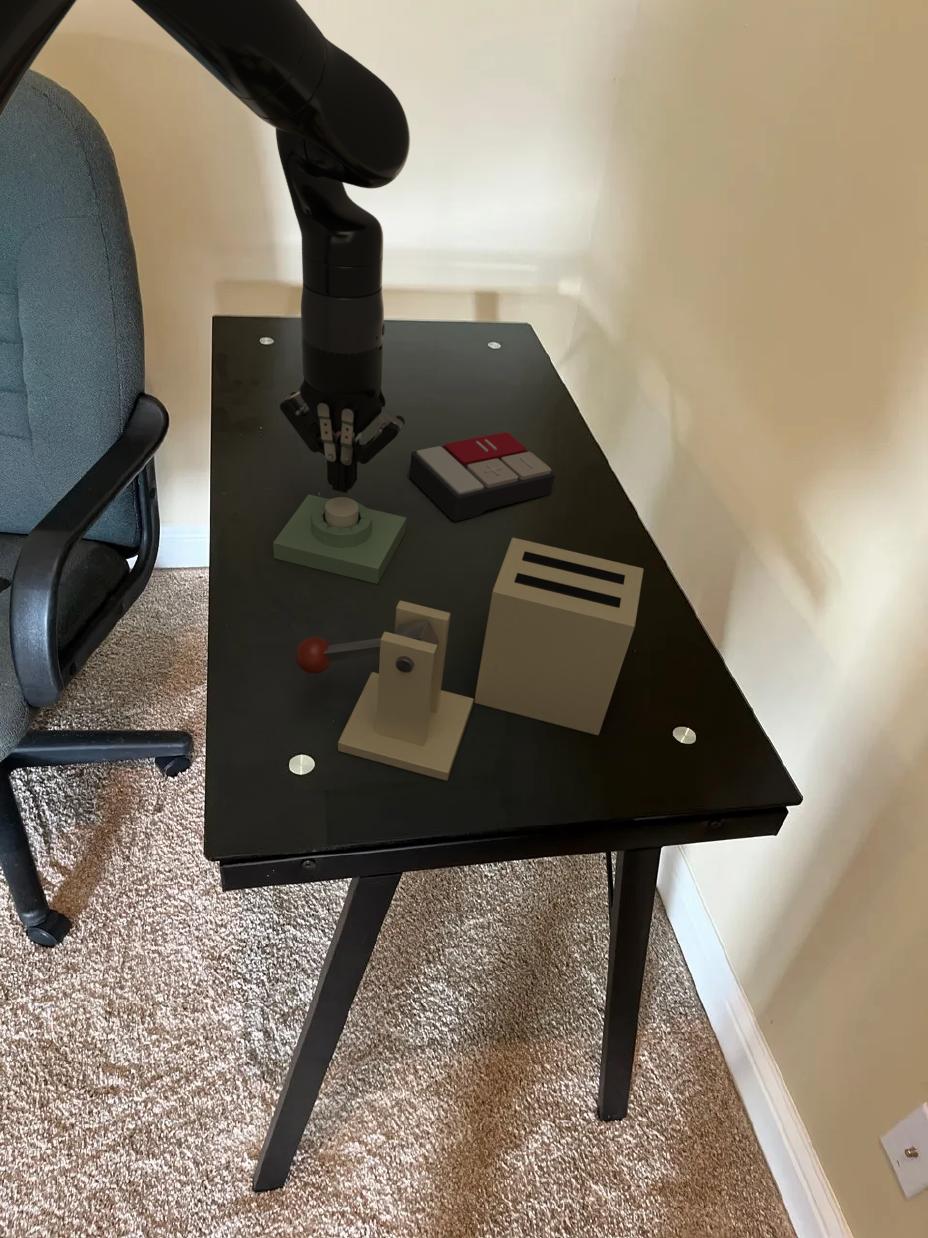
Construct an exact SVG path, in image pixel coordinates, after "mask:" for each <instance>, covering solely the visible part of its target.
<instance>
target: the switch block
mask: <svg viewBox="0 0 928 1238" xmlns="http://www.w3.org/2000/svg"><path fill="white" fill-rule="evenodd" d="M329 500H331V498H325V497H322V496H318V495H314V494H309V493H308V494H307V495H306V497H305V498H304V499H303V501H302V502H301V503H300V505H299V506H298V508H297V509H296V510H295V512H294V513H293V515H292V516H291V517H290V519H288V521H287V523H286V524H285V526H284V527H283V529H281V531H280V532H279V534H278V535H277V537H275V539H274V541H272V548H273V549H272V550H273V559H275V560H278V561H282V562H287V563H291V564H295V565H299V566H303V567H306V568H311V569H315V570H319V571H323V572H327V573H331V574H335V575H338V576H339V575H340V576H343V577H347V578H351V579H355V580H359V581H363V582H367V583H371V584H375V585H379V582H380V580H381V579H382V577H383V575H384V573H385V572H386V570H387V568H388V566H389V564H390V562H391V560H392V559H393V556H394V555H395V554H396V551H397V549H398V547H399V545H400V543H401V541H402V539H403V538H404V536H405V534H406V532H407V531H406V528H407V517H406V516H402V515H397V514H392V513H388V512H384V511H380V510H378V509H377V510H376V509H372V508H367V507H366V506H364V505H363V504H362V503H360V502H358V501H355V502H356V503H357V504H358V522H357V524H356V525H354V526H352V527H350V528H337V527H333V526H330V525H329V524H327V522H326V520H325V505H326V503H327V502H328V501H329Z"/></svg>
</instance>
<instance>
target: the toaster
mask: <svg viewBox="0 0 928 1238" xmlns="http://www.w3.org/2000/svg"><path fill="white" fill-rule="evenodd" d="M643 575H644V567H643V568H642V567H639V566H635V565H630V564H626V563H621V562H619V561H613V560H608V559H605V558H600V557H597V556H593V555H589V554H584V553H580V552H575V551H571V550H567V549H564V548H560V547H559V548H558V547H554V546H550V545H546V544H542V543H538V542H534V541H530V540H526V539H521V538H517V537H511V540H510V542H509V545H508V548H507V551H506V553H505V556H504V559H503V562H502V564H501V567H500V570H499V573H498V575H497V578H496V581H495V582H494V583H495V584H494V586H493V588H492V592H491V598H490V604H489V611H488V616H487V622H486V628H485V633H484V640H483V646H482V652H481V657H480V664H479V670H478V677H477V682H476V688H475V694H474V700H473V704H476V705H477V704H478V705H480V706H485V707H489V708H492V709H496V710H499V711H504V712H508V713H512V714H515V715H520V716H522V717H526V718H530V719H534V720H538V721H542V722H546V723H550V724H554V725H557V726H561V727H565V728H569V729H571V730H576V731H579V732H584V733H587V734H591V735H595V736H599V735H600V733H601V730H602V727H603V723H604V720H605V718H606V715H607V712H608V708H609V706H610V703H611V700H612V697H613V694H614V690H615V687H616V686H617V685H616V684H617V681H618V679H619V675H620V672H621V669H622V666H623V663H624V660H625V658H626V654H627V651H628V649H629V645H630V642H631V639H632V636H633V633H634V631H635V628H636V621H637V615H638V609H639V602H640V596H641V589H642V583H643V582H642V581H643Z"/></svg>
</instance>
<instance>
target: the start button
mask: <svg viewBox="0 0 928 1238" xmlns="http://www.w3.org/2000/svg"><path fill="white" fill-rule="evenodd" d="M356 502H357V501H356V500H354V499H352V498H351V497H345V496H337V497H333V498H330V500H329V501H328V502H327V503H326V505H325V520H326V522H327V524H329V525H330V526H333V527H337V528H350V527H352V526H354V525H356V524H357V522H358V504H357V503H356Z"/></svg>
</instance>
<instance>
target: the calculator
mask: <svg viewBox="0 0 928 1238" xmlns="http://www.w3.org/2000/svg"><path fill="white" fill-rule="evenodd" d="M410 454H411V456H410V465H409V471H408V472H409V473H408V478H409V479H410V480H411V481H412V482H413V483H414V484H415V485H416V486H418V488H419V489H420V490H421V491H422V492H423V493H424V494H425V495H426V496H427V497H428V498H429V499H430V500H431V501H432V502H433V503H434V504H435V505H436V506H437V507H438V508H439V509H440V510H441V511H442V512H443V513H444V514H445V515H446V516H447V518H449V519H450V520H451V521H452V522H460V521H464V520H468V519H471V518H476V517H479V516H481V515H482V514H483V513H484V512H485V511H488V510H493V509H496V508H500V507H504V506H509V505H513V504H517V503H520V502H521V503H522V502H524V501H525V502H526V501H528V500H533V499H536V498H540V497H544V496H549V495H551V493H552V489H553V485H554V481H555V477H556V473H555V472H553V471H552V469H551V467H550V466H549V465H547V464H546V463H545V462H544V461H542V459H540V458H539V457H538V456H537V455H535V453H533V452H532V451H529V450H527V447H526V446H525V445H524V444H522V443H521V442H520V441H518V440H517V439H516V438H515V437H514V436H512V435H511V434H510V433H509V432H507V431H503V432H499V433H494V434H488V435H484V436H478V437H473V438H467V439H463V440H458V441H451V442H447V443H445V444H444V445H439V446H432V447H428V448H422V449H417V450H415V451H412V452H411V453H410Z"/></svg>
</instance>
